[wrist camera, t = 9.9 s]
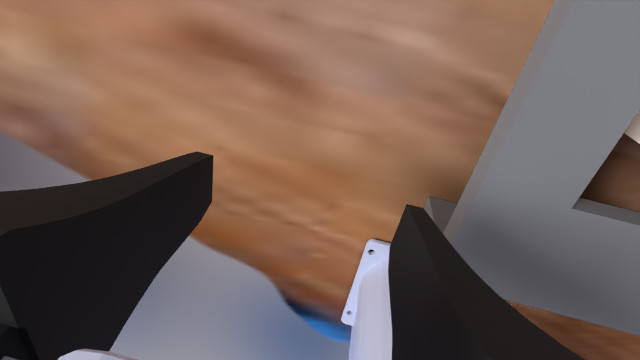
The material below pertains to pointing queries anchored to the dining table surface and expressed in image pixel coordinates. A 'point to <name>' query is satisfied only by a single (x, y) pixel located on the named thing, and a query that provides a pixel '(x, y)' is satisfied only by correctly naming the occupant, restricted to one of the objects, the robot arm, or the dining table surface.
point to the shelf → (558, 174)
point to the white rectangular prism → (634, 128)
